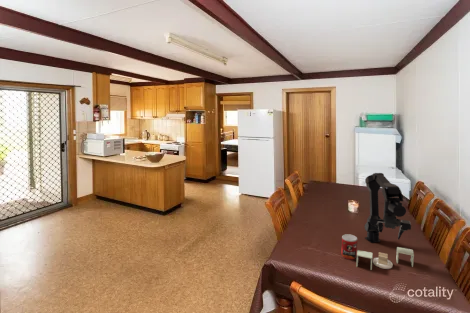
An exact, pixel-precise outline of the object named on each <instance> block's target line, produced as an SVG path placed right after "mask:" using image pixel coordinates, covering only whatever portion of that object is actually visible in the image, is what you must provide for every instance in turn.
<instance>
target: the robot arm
mask: <svg viewBox="0 0 470 313" xmlns="http://www.w3.org/2000/svg"><path fill="white" fill-rule="evenodd" d="M365 185H366V186H365V187H366V188H367V190H368V192H369V194H368V195H369V215H368V217H367V218H366V220H367V221H366V223H365V224H364V230H365V231H366V236H365V237H364V239H366V240H367V241H368V242H369V243H379V242H382V240H380V233H383V231H384V227H385V228H387V229H392V230H394V229H396V227H399V231H398V235H397V240H400V239H401V237H402V236H403V233H404V232H405V231H408V230H409V231H411V230H412V224H411V223H412V222H411V221H410V220H406V219H400V218H402V217H404V216H405V215H406V212H407V210H406V207H405V206H403V203H402V202H404V196H403V194H402V190H401V188H400V187H399V185H397V184H394V183H391V182H390V180H389V179H388V178H387V177H386V176H385V175H384V173H382V172H374V173H373V174H370V175H367V176H366V177H365ZM380 189H382V190H381V193H382V197H383V199H384V201H383V202H384V204H383V218H381V216H380V212H379V210H380V209H379V208H380V206H379V191H380Z"/></svg>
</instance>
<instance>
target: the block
mask: <svg viewBox="0 0 470 313" xmlns="http://www.w3.org/2000/svg"><path fill="white" fill-rule="evenodd" d="M388 256H389V255H388V253H384V252H378V257H377V258H378V263H380V264H385V265H387V260H389V259H388V258H389V257H388Z"/></svg>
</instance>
